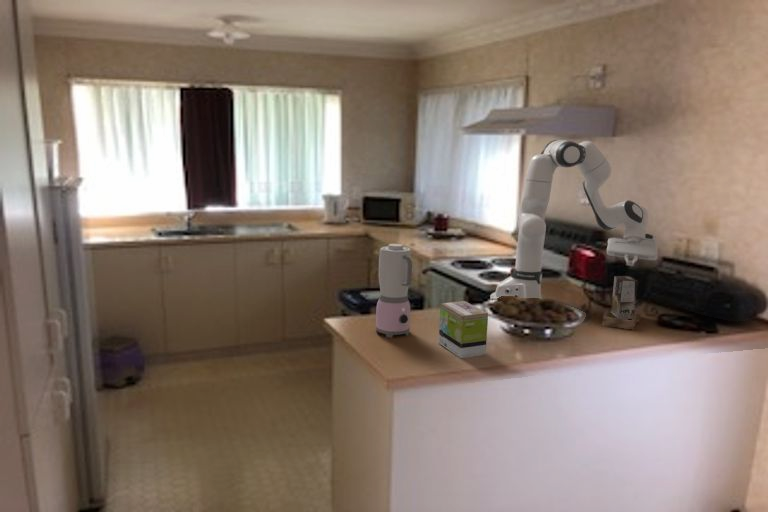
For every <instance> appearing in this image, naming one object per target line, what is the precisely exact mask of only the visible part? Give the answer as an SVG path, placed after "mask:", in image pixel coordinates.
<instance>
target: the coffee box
mask: <svg viewBox="0 0 768 512" xmlns="http://www.w3.org/2000/svg"><path fill="white" fill-rule="evenodd" d="M613 280H614V281H613V287H612V296H611V297H612V298H611V307H610V308H611V309H610V314H611V313H612V315H613V316H614V318H619V319H625V320H628V319H632V317H633V314H635V309H636V303H637V294H638V293H637V292H638V286H639V285H638V284H639V280H637V279H636V278H634V277H631V276H629V275H614V279H613Z"/></svg>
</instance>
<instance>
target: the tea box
mask: <svg viewBox="0 0 768 512" xmlns="http://www.w3.org/2000/svg"><path fill="white" fill-rule="evenodd" d="M488 321H489V313H488V312H487V311H485V310H483V309H481V308H479V307H477V306H475V305H473V304H471V303H469V302H467V301H465V300H462V301H452V302H451V301H450V302H445V303H443V302H441V303H440V306H439V326H438V327H439V330H438V331H439V332H438V344H439V345H441V346H443V347H444V348H446V350H448V351H449V352H450V353H452V354H453V355H455V356H456V357H458V358H459V359H467V358H474V356H475V357H480V356H486V353H487V352H486V351H487V337H488V324H489V323H488Z"/></svg>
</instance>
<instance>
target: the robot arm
mask: <svg viewBox="0 0 768 512" xmlns="http://www.w3.org/2000/svg"><path fill="white" fill-rule="evenodd" d="M575 166H577V167H578V169H579V170H580V172H581V173H582V175H583V178H584V181H583V183H582V187H583V190H584V192H585V195H586V198H587V201H588V202H589V205H590V207H591V209H592V211H593V214H594V216H595V217H594V218H595V221H596V224H597V226H598V227H599V228H601V229H602V230H605V231H611V230H612V229H616V228H618V227H621V226H625V229H624V232H623V236H622V237H619V236H612V237H609V238H608V240H607V247H606V254H607V255H608V256H609V257H610V256H611V257H618V258H619V257H620V258H624V260H625V262H626V263H625V265H626V266H630V267H634V265H635V263H636V262H637V261H638V260H645V261H656V260H657V259H658V255H659V252H658V251H659V247H658V243H657V237H656V236H655V235H653V234H650V233H648V232H647V231H646V230H647V229H648V223H649V214H648V209H647V208H645V207H644V206H642V205H640V204H639V205H638V204H637V203H636V202H635V201H633V200H624V201H621V202H618V203H616V204H614V205H610V206H606V205H605V204H604V202H603V200H602V197H601V195H600V192H599V189H600V188H601V187H602V186H603V185H604V184H605V183H606V182H607V181H608V179H609V178H610V177H611V172H612V167H611V165H610V163H609V161H608V159H607V158H606V156H605V154H603V153H602V151H601V149H599V147H598V146H597V145H596V144H595V143H594V142H593V141H591V140H583V141H582V142H580V143H577V142H575V141H571V140H570V141H569V140H567V139H554V140H552V141H549V142H548V143H547V144H546V145H545V147H544V148H543V150H542V151H541V153H538V154H535V155H533V156H532V157H531V158H530V161H529V163H528V167H527V170H526V175H525V180H524V187H523V194H522V199H521V203H520V209H519V215H518V220H517V227H518V234H517V235H518V236H517V242H516V243H517V245H516V252H515V253H516V255H515V266H513V267H512V268H511V269H510V271H509V275H510V276H508V277H507V278H505V279H503V280H502V281H500V282H499V283H498V284H497V286H496V287H495V288H496V289H495V291H494V292H492V293H491V294H490V298H489V299H490V300H491V301H495V300H494V299H497V298H499V297H501V296H515V297H520V298H540V299H542V290H541V283H542V280H543V279H542V277H543V270H542V265H543V254H544V253H543V251H544V245H545V240H546V239H545V238H546V231H547V225H546V221H545V219H546V214H547V209H548V206H549V202H550V196H551V192H552V186H553V185H552V184H553V177H554V173H555V171H556V169H558V167H559V168H571V167H575ZM542 300H543V299H542Z"/></svg>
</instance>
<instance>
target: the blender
mask: <svg viewBox="0 0 768 512" xmlns="http://www.w3.org/2000/svg"><path fill="white" fill-rule="evenodd" d="M412 276H413V261H412V250H411V248H410V247H406V246H404V245H403V244H401V243H389V244H388V245H387V246H383V247H380V249H379V259H378V284H379V290H380V296H379V298H378V301H377V303H376V307H375V308H376V311H375V313H376V314H375V320H376V321H375V330H376V331H377V333H381V334H384V335H385V337H386V338H389V339H392V338H393V337H394V336H397V335H403V334H404V335H405V336H409V334H410V329H411V328H410V325H411V323H410V322H411V305H410V304H411V303H410V301H409V299H408V292H409V287H410V285H411V284H412V279H413V278H412Z"/></svg>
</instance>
